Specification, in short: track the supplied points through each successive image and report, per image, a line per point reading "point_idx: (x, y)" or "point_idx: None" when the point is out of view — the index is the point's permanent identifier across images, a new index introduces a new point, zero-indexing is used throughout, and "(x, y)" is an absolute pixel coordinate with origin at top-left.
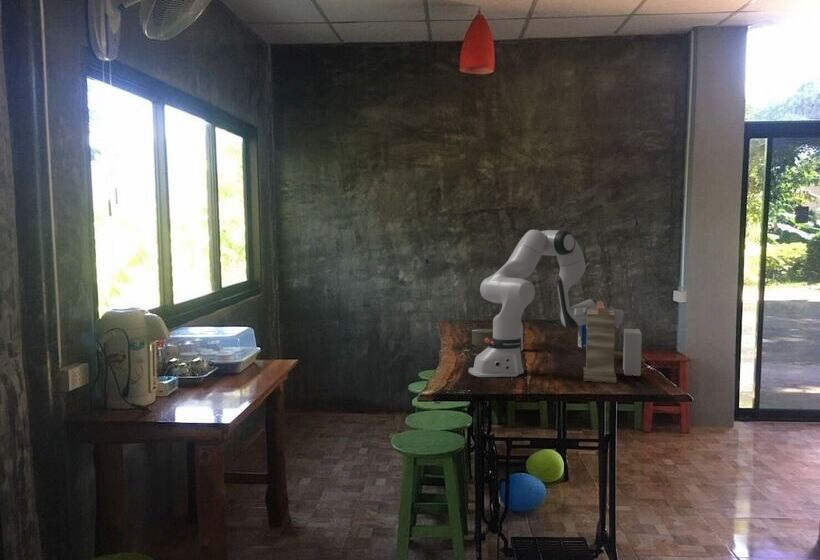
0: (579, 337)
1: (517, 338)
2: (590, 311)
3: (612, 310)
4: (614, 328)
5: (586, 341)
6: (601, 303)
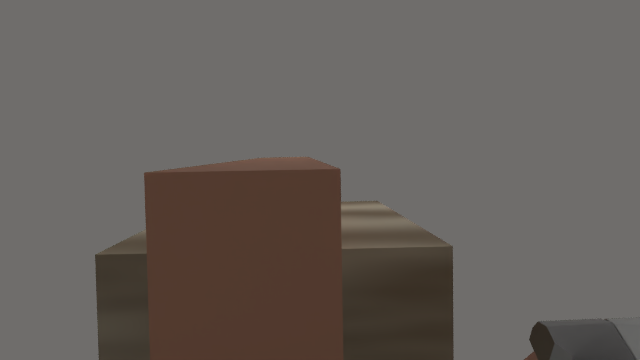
0: None
1: None
2: (374, 217)
3: (130, 240)
4: None
5: None
6: (256, 161)
